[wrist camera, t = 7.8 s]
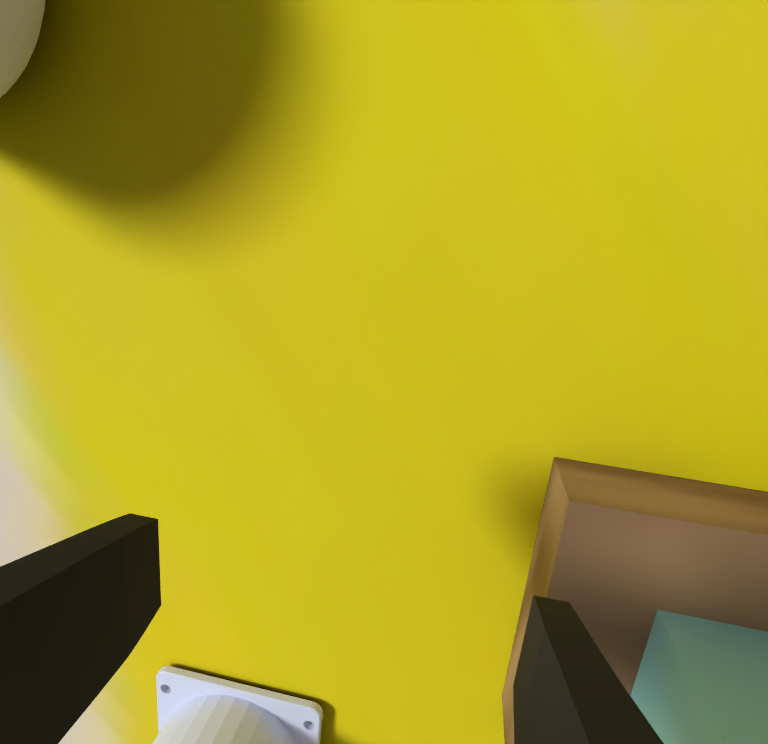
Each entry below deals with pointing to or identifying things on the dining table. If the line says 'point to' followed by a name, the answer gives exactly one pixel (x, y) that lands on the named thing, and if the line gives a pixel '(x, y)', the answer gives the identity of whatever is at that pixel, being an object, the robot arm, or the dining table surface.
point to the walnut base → (643, 558)
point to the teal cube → (704, 681)
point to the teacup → (17, 37)
